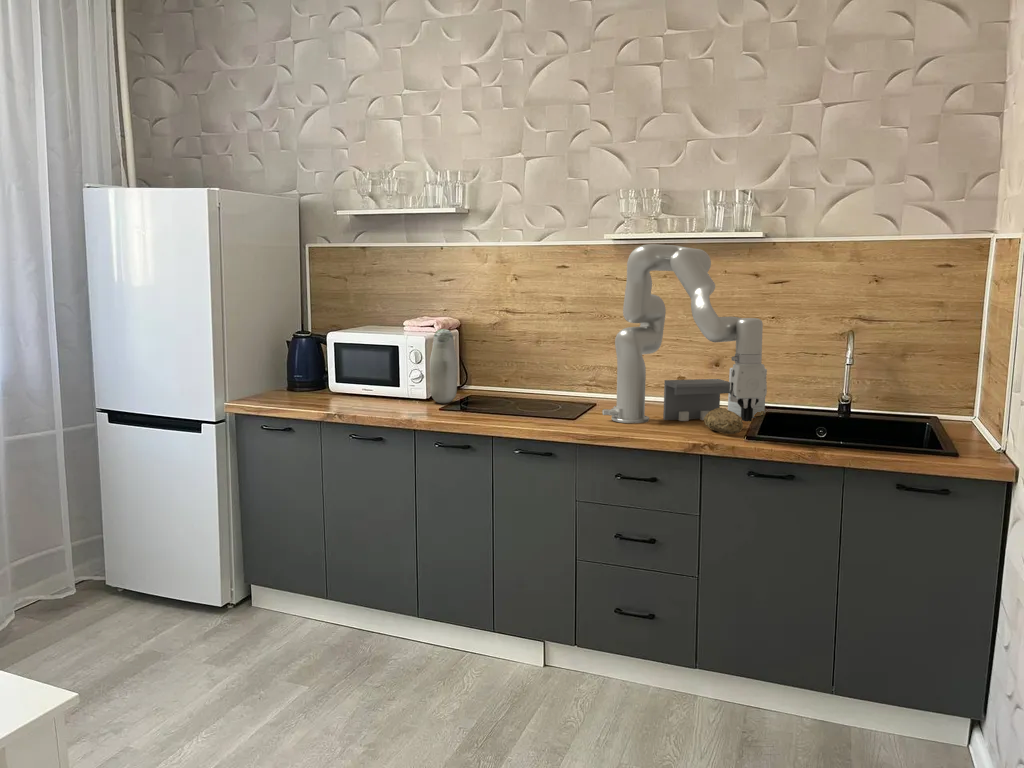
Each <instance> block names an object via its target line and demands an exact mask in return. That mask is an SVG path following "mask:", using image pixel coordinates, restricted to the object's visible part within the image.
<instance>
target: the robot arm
mask: <svg viewBox="0 0 1024 768" xmlns="http://www.w3.org/2000/svg"><path fill="white" fill-rule="evenodd" d="M711 266H712V261H711V257H710V255H709V254H708V253H707V252H706V251H705V250H703V249H701V248H693V247H687V246H681V245H680V246H679V245H674V244H661V243H659V244H658V243H649V244H643V245H640V246H639V245H638V246H637V247H635V249H633V250H632V251H631V253H630V254H629V256H628V258H627V263H626V283H625V290H624V300H623V307H622V308H623V309H622V314H623V317H624V320H626V322H628V323H630V324H640V325H639V326H629V327H624V328H622V329H620V330H619V332H617V334H616V336H615V340H614V346H615V353H616V362H617V363H616V364H617V365H616V366H617V367H616V369H617V370H616V371H617V372H616V374H617V375H616V376H617V377H616V405H614V406H613V407H612V408H611V409H608V408H607V409H602V411H601V412H602V415H603V416H611V420H612V421H613V422H617V423H623V424H644V423H647V422H650V421H649V420H650V417H649V416H648V415H646V414H645V411H646V409H645V408H646V407H645V405H646V382H647V381H646V378H647V377H646V376H647V375H646V373H647V370H646V369H647V368H646V363H645V359H644V357H643V355H650V354H654V353H656V352H657V351H658V350H659V349H660V348H661V346H662V343H663V337H664V330H665V329H664V328H665V321H666V315H667V314H666V311H667V309H666V305H665V302H664V300H663V299H662V297H660V296H659V295H657V294H654V293H653V294H652V288H653V280H652V275H651V273H650V272H653V271H658V272H660V271H661V272H665V271H666V272H673V274H674V275H675V276H676V278H677V279H678V281H679V283H680V284H681V285H682V287H683V289H684V290H685V292H686V293H687V295H688V297H689V298H690V308H691V315H692V318H693V321H694V323H695V325H696V326H697V327H698V329H699V331H700V332H701V335H703V336H704V337H705V339H707V340H708V341H709V342H712V343H726V342H735V354H734V356H731V361H732V362H734V364H733V365H732V367H731V368H732V373H731V379H730V395H731V397H730V401H732V402H736V403H738V404H739V405H740V407H741V417H740V418H741V420H742V422H752V421H753V419H754V417H753V408H754V407H755V405H756V404H757V403H758V402H760V401H763V400H764V399H765V400H766V396H767V393H768V391H767V390H768V389H767V376H766V372H765V369H766V366H765V364H763V363H762V360H763V359H762V357H763V356H762V355H763V324H764V323H763V320H762V319H760V318H756V317H739V316H719V315H718V314H717V312H716V311H715V309H714V308H713V305H712V304H711V300H710V297H711V295H712V294H713V293H714V291H715V289H716V283H715V281H714V280H713V279H712V277H711V276H710V274H709V271H710V269H711ZM736 397H737V398H739V399H737V398H736ZM764 397H765V398H764ZM747 399H748V400H747Z"/></svg>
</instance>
